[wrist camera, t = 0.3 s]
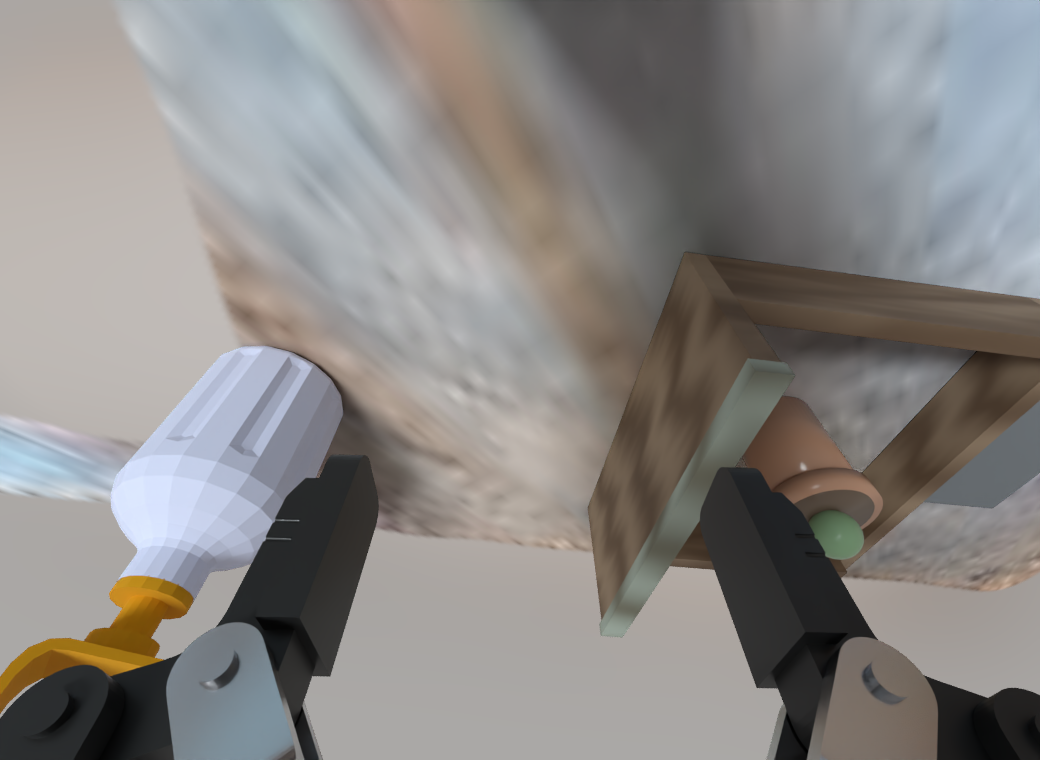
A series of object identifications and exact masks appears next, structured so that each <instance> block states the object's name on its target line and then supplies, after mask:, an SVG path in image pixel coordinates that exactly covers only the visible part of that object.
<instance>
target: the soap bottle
mask: <svg viewBox="0 0 1040 760" xmlns="http://www.w3.org/2000/svg"><path fill="white" fill-rule="evenodd" d="M342 416H343V407H342V400H341V395H340V393H339V391H338V390H337V388H336V386H335V385H334V383H333V381H332V380H331V379H330V378H329V377H328V376H327V375H326V374H325V373H324V372H323V371H322V370H320V369H319V368H318V367H317V366H316V365H315V364H313V363H311V362H310V361H308V360H306V359H304V358H302V357H300V356H298V355H296V354H294V353H292V352H289V351H285V350H281V349H277V348H273V347H269V346H243V347H240V348H238V349H235V350H232V351H230V352H227V353H224V354H222V355H221V356H220V357H219V358H218V359H217V360H216V361H215V363H214V364H213V365H212V366H211V367H210V368H209V369H208V371H207V372H206V373H205V374H204V375H203V376H202V377H201V379H200V380H199V381H198V382H197V383H196V384H195V386H194V387H193V388H192V389H191V390H190V391H189V392H188V394H187V395H186V396H185V397H184V398H183V399H182V400H181V402H180V403H179V404H178V405H177V406H176V407H175V409H174V410H173V411H172V412H171V413H170V414H169V415H168V417H167V418H166V419H165V420H164V421H163V422H162V424H161V425H160V426H159V427H158V428H157V429H156V430H155V432H154V433H153V434H152V435H151V436H150V437H149V438H148V440H147V441H146V442H145V443H144V444H143V445H142V447H141V448H140V449H139V450H138V451H137V452H136V453H135V455H134V456H133V457H132V458H131V459H130V460H129V462H128V463H127V464H126V465H125V466H124V467H123V468H122V470H121V471H120V472H119V473H118V474H117V475H116V478H115V482H114V485H113V489H112V492H111V509H112V511H113V513H114V516H115V518H116V520H117V522H118V524H119V526H120V528H121V530H122V531H123V532H124V534H125V535H126V537H127V538H128V539H129V541H131V542H132V543H133V544H134V545H135V546H136V547H137V549H138V552H137V554H136V555H135V557H134V558H133V560H132V561H131V562H130V564H129V565H128V567H127V568H126V569H125V571H124V572H123V574H122V575H121V576H120V578H119V579H118V581H117V583H116V584H115V586H114V587H113V588H112V590H111V591H110V593H109V595H110V599H111V600H112V601H113V602H114V603H115V604H116V605H117V606H119V607H121V608H122V610H121V611H120V613H119V615H118V616H117V617H116V619H115V620H114V622H113V624H112V625H111V626H110V628H100V629H95V630H93V631H92V632H90V633H89V635H88V636H87V638H86V639H85V641H79V640H75V639H71V638H56V639H48V640H46V641H43V642H41V643H39V644H36V645H33V646H31V647H29V648H27V649H26V650H25V651H24V652H23V653H22V654H21V655H20V656H18V657H17V658H16V659H15V660H14V661H13V662H12V663H11V664H10V665H9V666H8V668H7V669H6V670H5V672H4V673H3V674H2V675H1V676H0V713H1V712H2V711H3V709H4V708H5V707H6V705H7V704H8V703H9V702H10V701H11V700H12V699H13V698H14V697H15V696H16V695H17V694H18V693H19V692H21V691H22V690H23V689H24V688H25V687H27V686H28V685H30V684H32V683H34V682H36V681H38V680H40V679H41V678H46V677H48V676H50V675H52V674H53V673H55V672H58V671H60V670H63V669H65V668H69V667H73V666H78V665H92V666H95V667H98V668H99V669H101V670H103V671H104V672H105V673H106V674H107V675H109V676H113V675H116V674H120V673H123V672H126V671H129V670H133V669H136V668H139V667H143V666H146V665H149V664H153V663H156V662H159V661H163V660H162V659H158V658H155V656H156V654H157V653H158V651H159V647H160V646H159V644H158V643H157V642H156V641H155V640H153V639H151V637H152V636H153V633H154V632H155V630H156V629H157V627H158V625H159V623H160V622H161V620H162V619H174V618H181V617H182V616H184V615H185V614H187V612H188V610H189V608H190V607H191V605H192V603H193V602H194V600H195V598H196V597H197V595H198V593H199V591H200V589H201V588H202V586H203V584H204V582H205V580H206V579H207V577H208V575H209V574H210V573H211V572H214V571H226V570H230V569H234V568H239V567H243V566H246V565H249V564H252V562H253V560H254V558H255V556H256V554H257V552H258V550H259V548H260V546H261V544H262V542H263V541H265V540H266V535H267V533H268V531H269V529H270V527H271V525H272V523H274V522H275V517H276V515H277V513H278V512H279V510H280V508H281V506H282V504H283V502H284V500H285V498H286V496H287V495H288V494H289V493H290V492H291V491H292V490H293V489H294V488H295V487H296V486H298V485H299V484H300V483H301V482H302V481H303V480H304V479H305V478H316V476H317V473H318V471H319V469H320V467H321V464H322V462H323V460H324V458H325V455H326V453H327V451H328V449H329V446H330V444H331V442H332V440H333V437H334V435H335V433H336V431H337V428H338V426H339V424H340V421H341V419H342Z"/></svg>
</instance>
